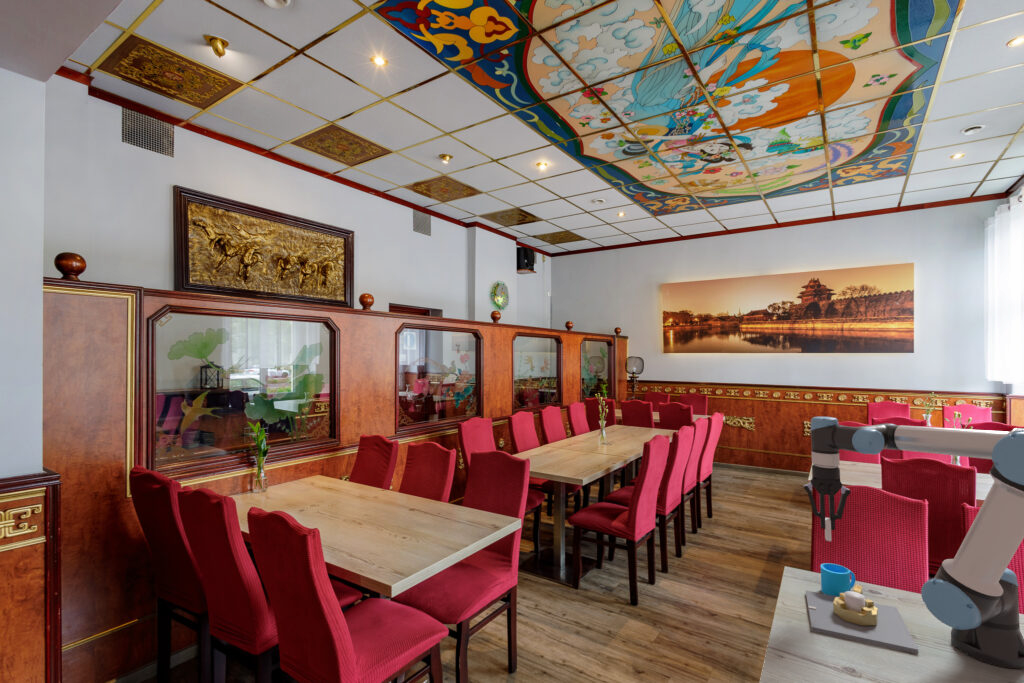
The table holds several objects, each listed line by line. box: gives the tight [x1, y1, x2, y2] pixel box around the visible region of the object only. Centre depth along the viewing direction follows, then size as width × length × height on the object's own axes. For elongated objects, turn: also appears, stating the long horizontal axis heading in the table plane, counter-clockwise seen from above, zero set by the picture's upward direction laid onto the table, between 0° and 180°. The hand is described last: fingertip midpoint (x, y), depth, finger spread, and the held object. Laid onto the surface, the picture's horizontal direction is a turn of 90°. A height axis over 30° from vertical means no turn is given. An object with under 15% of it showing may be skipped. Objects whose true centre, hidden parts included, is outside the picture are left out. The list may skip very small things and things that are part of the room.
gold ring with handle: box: [833, 584, 878, 626], centre depth 145 cm, size 15×10×6 cm
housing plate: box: [805, 590, 919, 655], centre depth 143 cm, size 24×24×8 cm
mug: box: [820, 562, 857, 597], centre depth 160 cm, size 12×8×8 cm
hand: (828, 539), depth 153 cm, fingers closed
